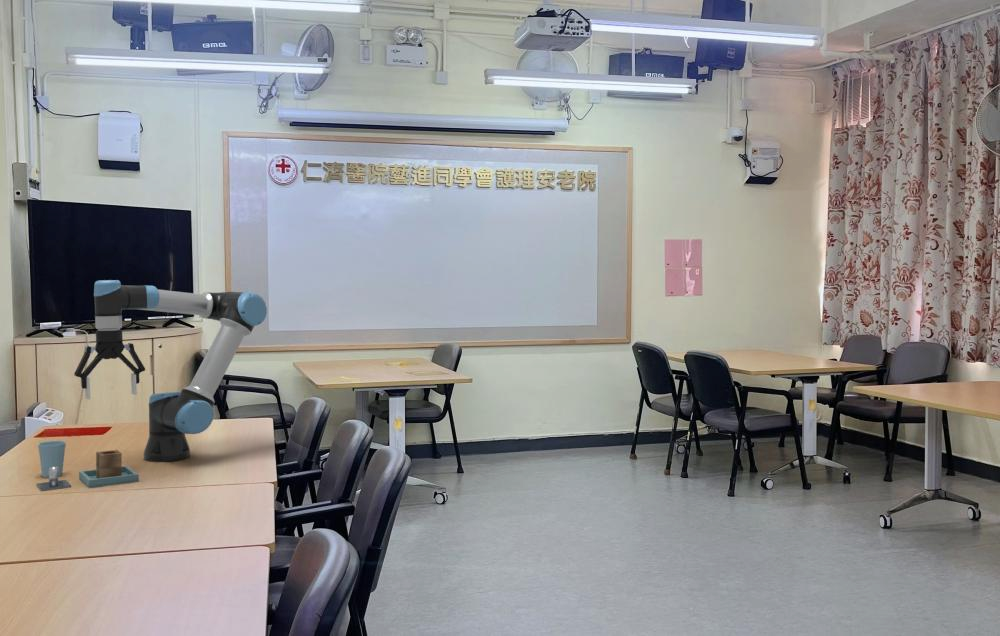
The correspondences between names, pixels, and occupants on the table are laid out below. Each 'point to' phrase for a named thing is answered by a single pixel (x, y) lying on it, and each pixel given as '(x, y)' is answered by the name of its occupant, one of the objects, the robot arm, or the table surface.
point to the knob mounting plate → (53, 481)
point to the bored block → (108, 464)
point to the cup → (51, 456)
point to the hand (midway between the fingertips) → (111, 396)
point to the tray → (108, 478)
